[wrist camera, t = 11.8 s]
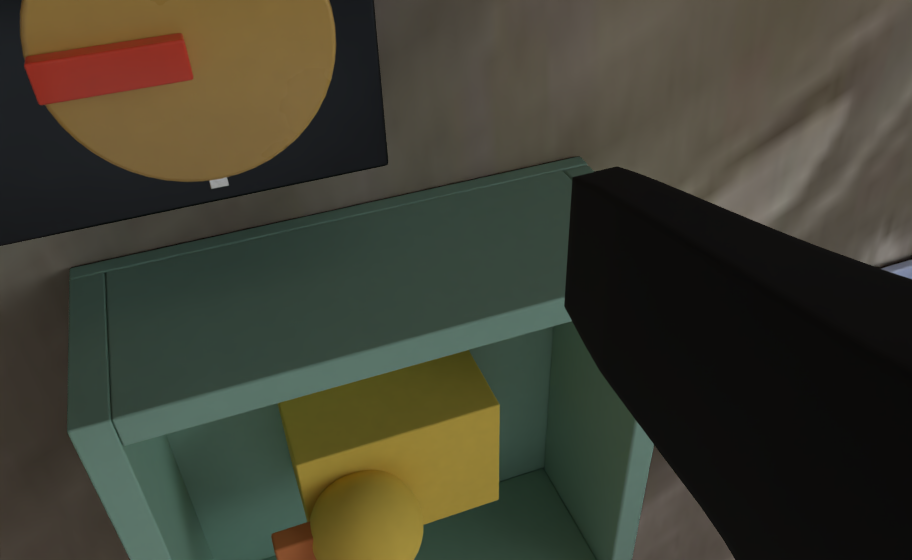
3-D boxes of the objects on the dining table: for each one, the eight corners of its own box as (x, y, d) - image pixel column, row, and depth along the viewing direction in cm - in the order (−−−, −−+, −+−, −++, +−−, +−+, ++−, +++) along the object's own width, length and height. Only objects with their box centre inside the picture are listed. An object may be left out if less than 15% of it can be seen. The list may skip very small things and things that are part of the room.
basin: (580, 155, 23) (690, 264, 18) (555, 463, 31) (628, 585, 27) (68, 267, 19) (65, 432, 15) (198, 581, 27) (219, 741, 23)
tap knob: (266, -174, 13) (323, -126, 10) (303, 67, 15) (357, 163, 12) (-10, -149, 12) (-39, -87, 9) (78, 105, 14) (79, 221, 11)
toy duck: (456, 327, 24) (538, 471, 20) (459, 421, 27) (533, 566, 22) (235, 386, 22) (273, 558, 18) (262, 480, 25) (300, 651, 21)
